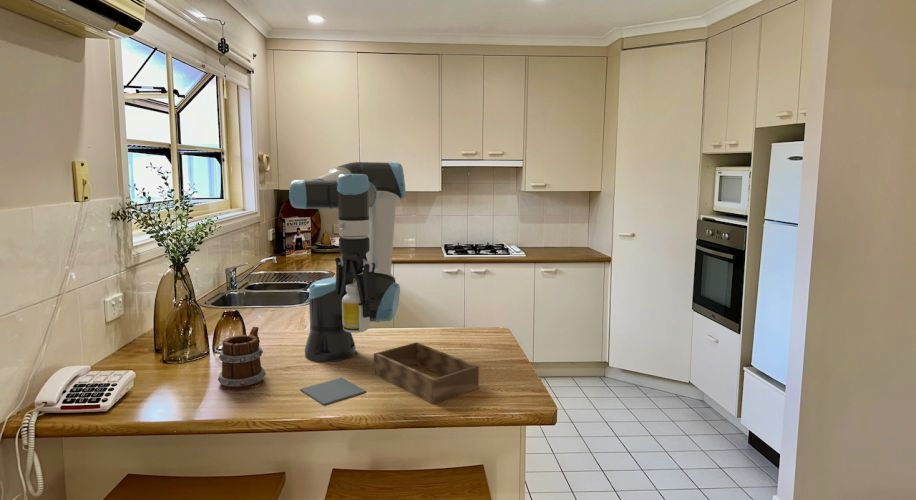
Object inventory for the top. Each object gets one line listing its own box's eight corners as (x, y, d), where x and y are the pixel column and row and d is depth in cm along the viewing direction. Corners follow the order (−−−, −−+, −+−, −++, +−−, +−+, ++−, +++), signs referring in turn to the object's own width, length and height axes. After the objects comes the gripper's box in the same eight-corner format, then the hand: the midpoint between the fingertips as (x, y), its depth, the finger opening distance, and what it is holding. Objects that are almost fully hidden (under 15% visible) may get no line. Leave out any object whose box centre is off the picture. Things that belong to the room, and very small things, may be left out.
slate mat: (300, 390, 142) (300, 388, 142) (341, 378, 150) (341, 377, 150) (323, 405, 133) (323, 403, 133) (366, 392, 141) (365, 390, 141)
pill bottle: (364, 334, 137) (363, 288, 135) (339, 332, 138) (338, 287, 136) (371, 326, 144) (371, 283, 142) (347, 325, 145) (347, 281, 143)
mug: (206, 390, 140) (209, 331, 141) (235, 379, 154) (237, 325, 155) (250, 393, 139) (252, 333, 139) (275, 381, 153) (277, 327, 154)
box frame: (374, 374, 153) (373, 353, 152) (416, 361, 163) (416, 342, 162) (434, 404, 134) (434, 380, 133) (478, 388, 144) (478, 366, 143)
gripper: (319, 234, 141) (322, 321, 145) (365, 242, 128) (367, 338, 131) (344, 231, 146) (346, 315, 150) (390, 239, 133) (391, 331, 137)
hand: (355, 325), depth 141 cm, fingers closed on pill bottle, 6 cm apart
